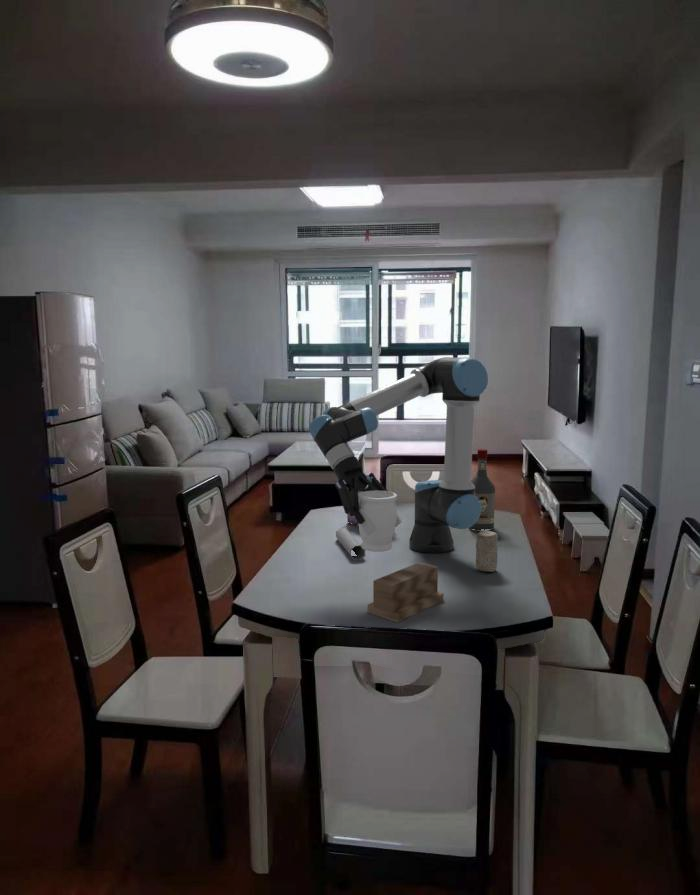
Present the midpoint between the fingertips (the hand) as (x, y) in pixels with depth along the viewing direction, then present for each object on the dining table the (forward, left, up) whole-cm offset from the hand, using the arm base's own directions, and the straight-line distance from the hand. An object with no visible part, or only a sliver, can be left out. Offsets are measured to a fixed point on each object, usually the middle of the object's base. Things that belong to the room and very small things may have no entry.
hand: (385, 528), depth 179 cm
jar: (0, -3, -6) cm, 7 cm away
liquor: (-80, -18, -20) cm, 84 cm away
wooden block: (0, +8, -20) cm, 21 cm away
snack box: (-53, -50, -20) cm, 76 cm away
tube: (-27, -38, -20) cm, 51 cm away
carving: (-39, +9, -20) cm, 45 cm away
